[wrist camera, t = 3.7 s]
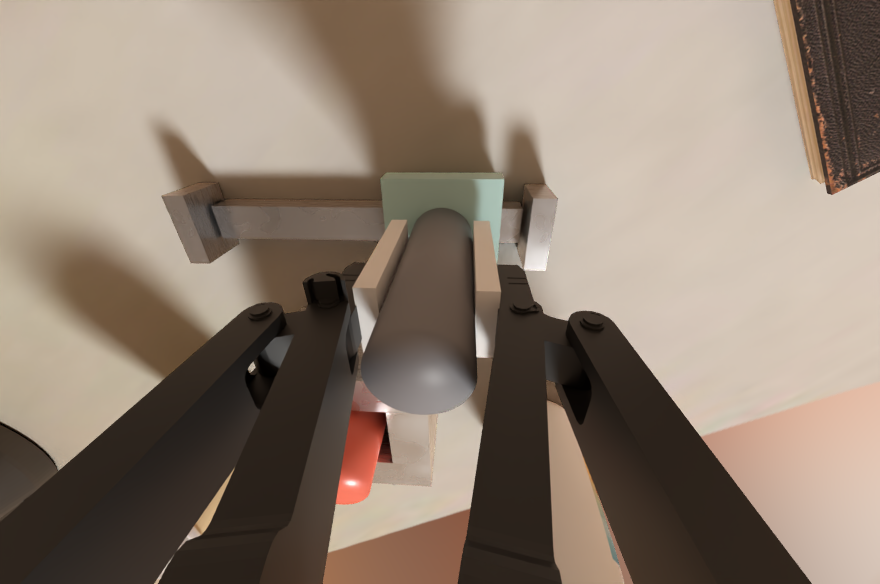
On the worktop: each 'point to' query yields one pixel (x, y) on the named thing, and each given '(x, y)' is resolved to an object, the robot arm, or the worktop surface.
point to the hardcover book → (835, 85)
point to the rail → (332, 221)
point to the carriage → (431, 291)
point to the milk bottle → (577, 511)
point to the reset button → (360, 455)
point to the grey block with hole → (399, 439)
